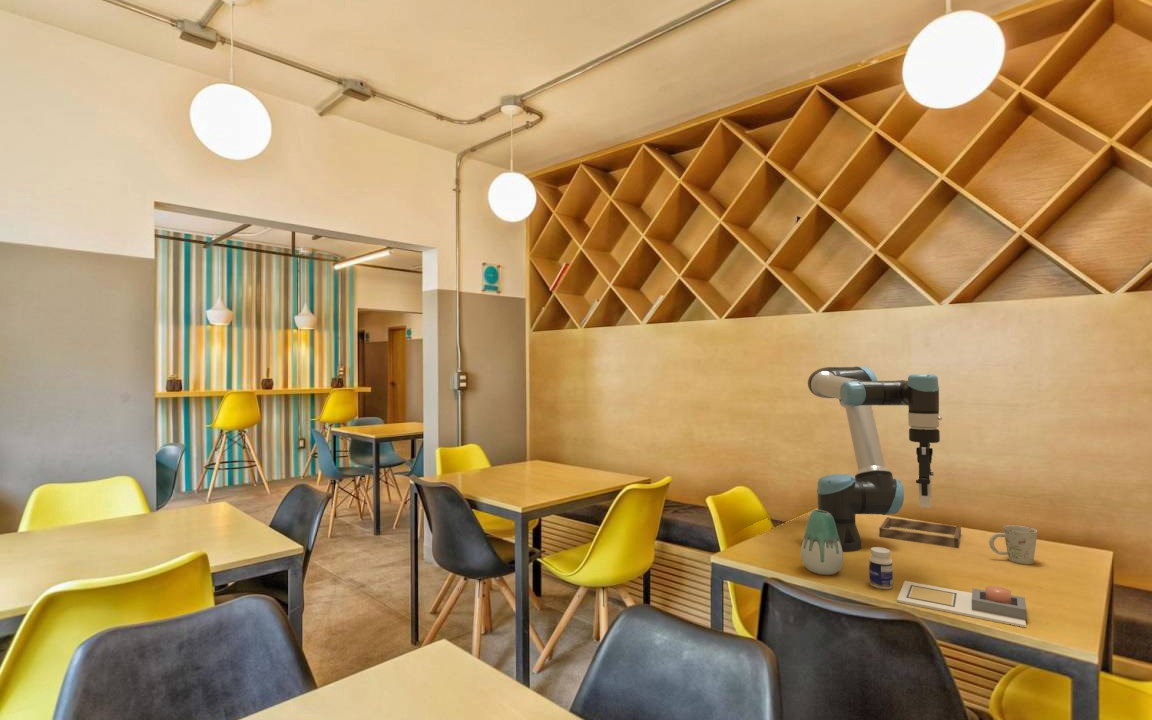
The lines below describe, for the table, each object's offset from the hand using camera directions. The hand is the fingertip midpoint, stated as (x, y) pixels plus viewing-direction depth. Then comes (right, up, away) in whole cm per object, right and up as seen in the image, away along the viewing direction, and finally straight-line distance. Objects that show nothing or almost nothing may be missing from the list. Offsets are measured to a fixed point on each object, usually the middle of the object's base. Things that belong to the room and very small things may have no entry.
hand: (925, 502), depth 164 cm
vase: (-27, -22, +6) cm, 35 cm away
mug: (+35, -22, +13) cm, 44 cm away
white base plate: (-3, -21, -18) cm, 28 cm away
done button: (+4, -19, -23) cm, 30 cm away
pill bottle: (-16, -22, -6) cm, 28 cm away
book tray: (+23, -22, +41) cm, 52 cm away
